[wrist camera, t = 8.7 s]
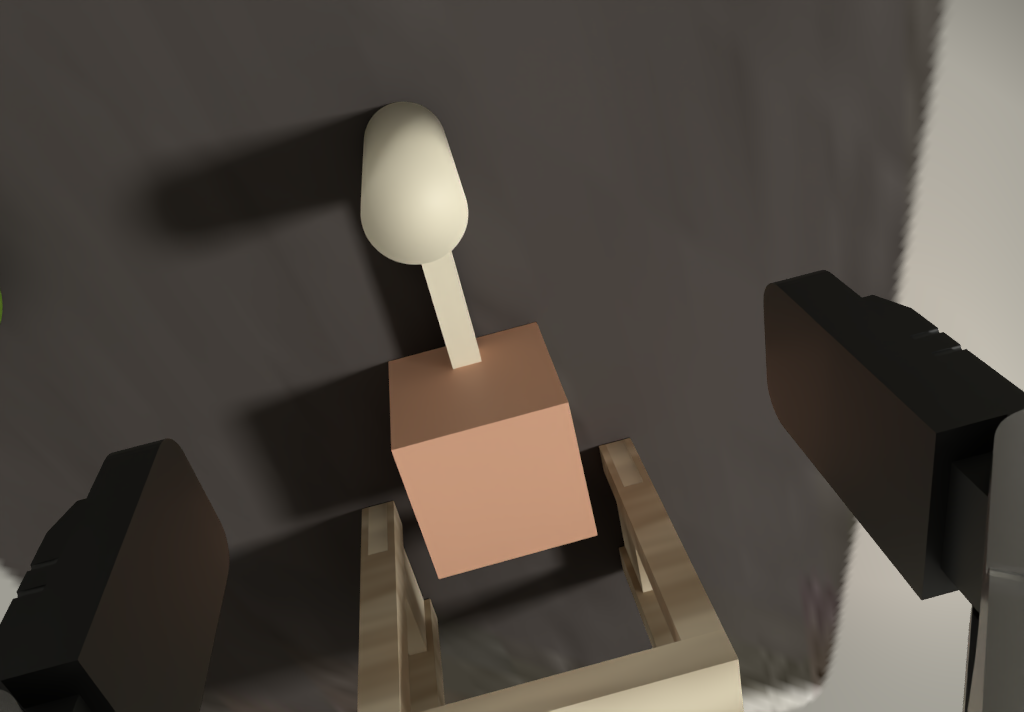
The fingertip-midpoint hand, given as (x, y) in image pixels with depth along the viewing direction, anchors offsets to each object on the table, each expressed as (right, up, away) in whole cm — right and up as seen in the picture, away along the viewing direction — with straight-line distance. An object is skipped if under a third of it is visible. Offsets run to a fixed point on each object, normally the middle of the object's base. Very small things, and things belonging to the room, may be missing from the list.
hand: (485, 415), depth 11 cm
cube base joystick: (-2, +3, +20) cm, 20 cm away
